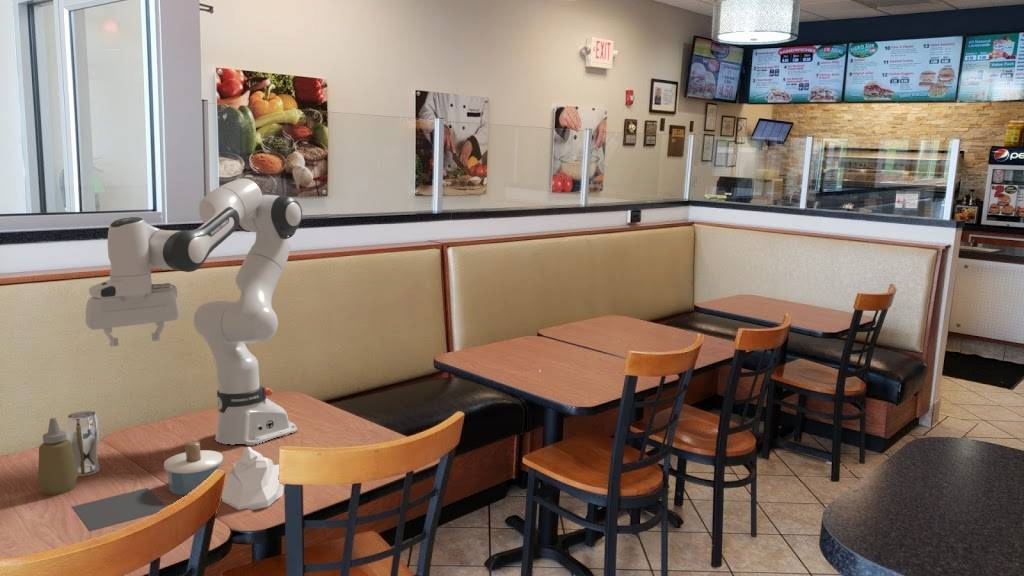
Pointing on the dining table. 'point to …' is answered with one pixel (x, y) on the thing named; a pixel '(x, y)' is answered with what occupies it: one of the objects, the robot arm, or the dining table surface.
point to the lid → (193, 460)
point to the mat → (118, 509)
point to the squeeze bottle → (56, 462)
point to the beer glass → (84, 441)
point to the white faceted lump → (252, 482)
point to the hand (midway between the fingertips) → (135, 343)
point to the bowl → (187, 480)
